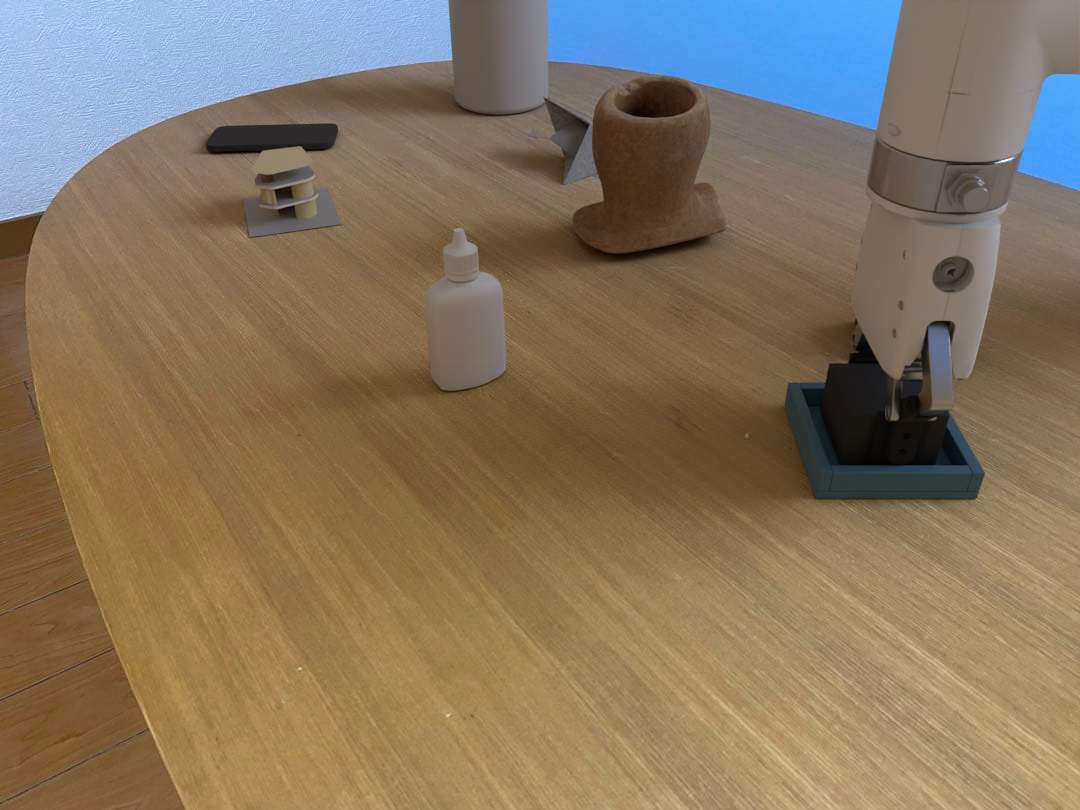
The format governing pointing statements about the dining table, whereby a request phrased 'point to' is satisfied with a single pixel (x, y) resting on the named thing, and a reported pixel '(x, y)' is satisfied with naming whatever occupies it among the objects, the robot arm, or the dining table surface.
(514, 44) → the cylinder vase
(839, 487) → the dock
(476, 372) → the eye dropper bottle
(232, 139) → the phone
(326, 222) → the stacked layers on plate
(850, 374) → the dark brown square block
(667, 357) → the dining table surface
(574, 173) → the paper boat
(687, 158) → the stone cup
